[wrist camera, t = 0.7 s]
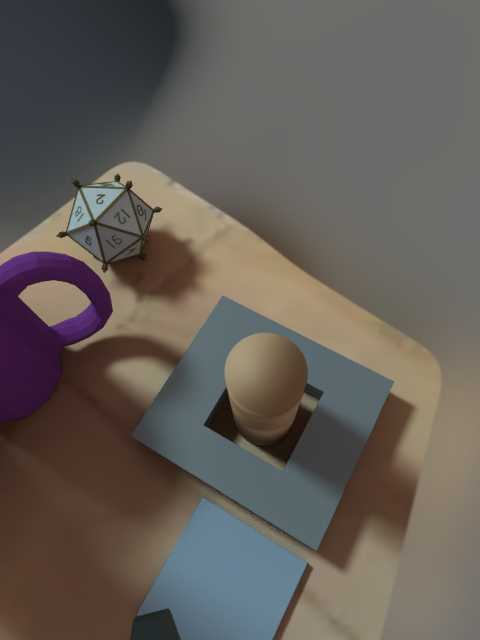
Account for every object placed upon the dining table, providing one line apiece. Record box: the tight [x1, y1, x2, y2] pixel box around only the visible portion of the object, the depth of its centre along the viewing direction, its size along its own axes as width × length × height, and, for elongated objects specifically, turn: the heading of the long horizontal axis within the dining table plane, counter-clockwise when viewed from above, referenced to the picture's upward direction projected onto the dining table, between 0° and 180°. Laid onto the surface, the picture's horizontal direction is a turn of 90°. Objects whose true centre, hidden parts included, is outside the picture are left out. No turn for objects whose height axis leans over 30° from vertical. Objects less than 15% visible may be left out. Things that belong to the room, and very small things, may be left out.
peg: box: [224, 333, 308, 446], centre depth 33 cm, size 5×5×12 cm
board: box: [131, 296, 394, 551], centre depth 37 cm, size 16×14×2 cm
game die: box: [57, 174, 162, 273], centre depth 42 cm, size 9×8×10 cm
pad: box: [136, 498, 307, 640], centre depth 33 cm, size 9×9×1 cm
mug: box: [0, 252, 113, 423], centre depth 34 cm, size 9×16×15 cm, turn 118°
